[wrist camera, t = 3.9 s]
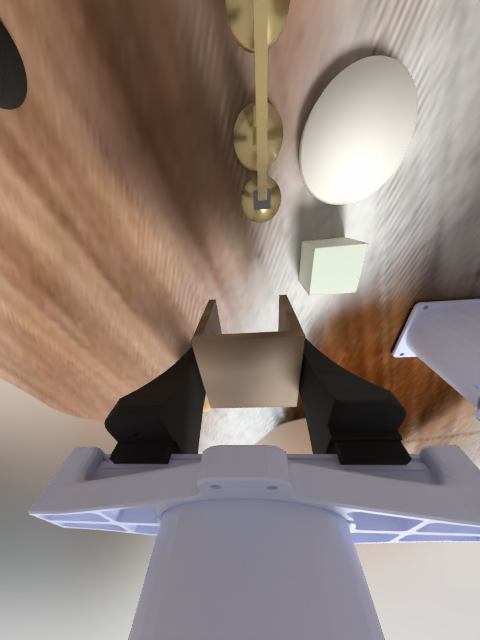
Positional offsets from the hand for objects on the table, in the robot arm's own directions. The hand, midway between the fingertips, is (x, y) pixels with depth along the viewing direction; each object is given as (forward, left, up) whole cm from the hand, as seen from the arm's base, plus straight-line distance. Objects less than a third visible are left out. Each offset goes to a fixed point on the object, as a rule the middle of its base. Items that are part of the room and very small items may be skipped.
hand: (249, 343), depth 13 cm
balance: (-2, -13, -8) cm, 16 cm away
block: (-8, -3, -8) cm, 12 cm away
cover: (0, 0, -2) cm, 2 cm away
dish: (-9, -12, -8) cm, 17 cm away
